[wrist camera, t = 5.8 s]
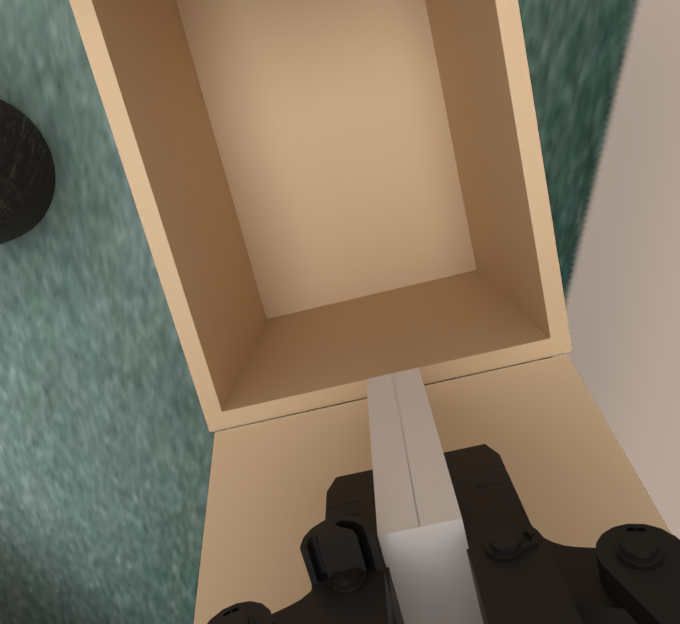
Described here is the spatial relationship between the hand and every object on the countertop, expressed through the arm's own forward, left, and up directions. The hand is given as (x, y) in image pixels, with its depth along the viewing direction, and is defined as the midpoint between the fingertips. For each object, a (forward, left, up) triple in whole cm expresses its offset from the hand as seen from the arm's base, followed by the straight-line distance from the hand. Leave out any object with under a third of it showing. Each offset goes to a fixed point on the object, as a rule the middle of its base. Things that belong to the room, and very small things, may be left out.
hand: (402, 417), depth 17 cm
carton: (+9, 0, -15) cm, 17 cm away
